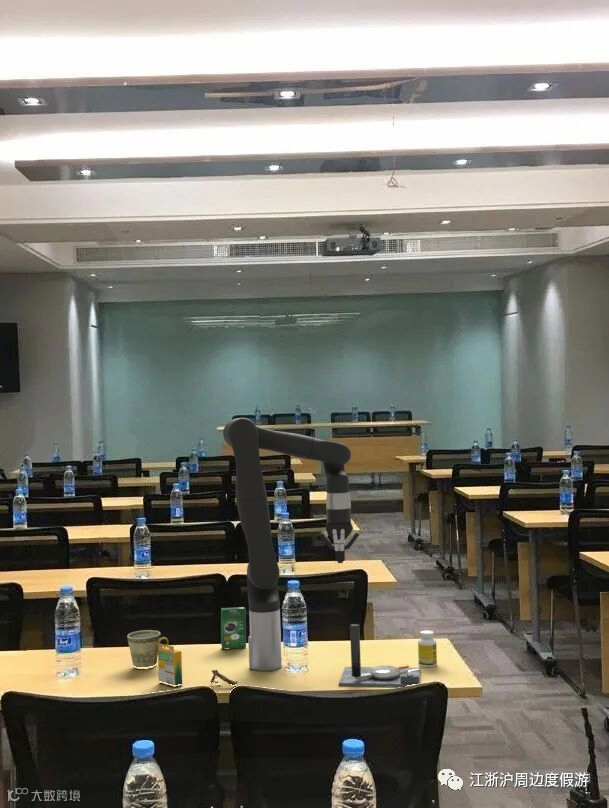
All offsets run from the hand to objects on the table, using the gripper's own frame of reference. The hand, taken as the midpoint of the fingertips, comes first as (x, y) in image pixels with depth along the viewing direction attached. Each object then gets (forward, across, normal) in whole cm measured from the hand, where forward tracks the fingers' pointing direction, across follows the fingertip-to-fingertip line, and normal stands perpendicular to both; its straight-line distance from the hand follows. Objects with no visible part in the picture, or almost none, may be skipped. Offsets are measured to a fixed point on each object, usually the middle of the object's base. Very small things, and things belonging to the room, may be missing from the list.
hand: (340, 562), depth 265 cm
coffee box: (+29, -37, +8) cm, 48 cm away
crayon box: (+29, -46, -30) cm, 62 cm away
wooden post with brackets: (+29, -30, -31) cm, 52 cm away
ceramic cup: (+29, -58, -14) cm, 66 cm away
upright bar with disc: (+28, +13, -22) cm, 38 cm away
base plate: (+29, +13, -21) cm, 38 cm away
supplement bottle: (+29, +26, -8) cm, 40 cm away
